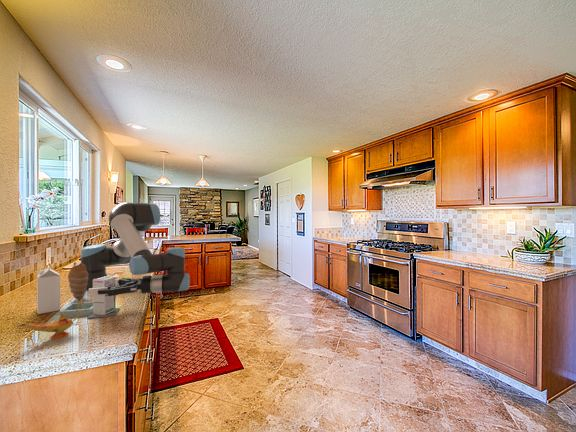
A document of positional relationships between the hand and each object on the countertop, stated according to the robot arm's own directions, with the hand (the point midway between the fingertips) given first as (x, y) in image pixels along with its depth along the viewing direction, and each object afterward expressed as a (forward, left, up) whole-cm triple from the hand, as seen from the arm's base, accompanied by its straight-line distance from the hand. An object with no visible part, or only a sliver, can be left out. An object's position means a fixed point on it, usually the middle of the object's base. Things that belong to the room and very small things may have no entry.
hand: (95, 287), depth 113 cm
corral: (-5, -7, -11) cm, 14 cm away
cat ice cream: (-25, -15, -11) cm, 31 cm away
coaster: (0, +3, -11) cm, 12 cm away
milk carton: (-11, -21, -11) cm, 26 cm away
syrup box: (0, +3, -11) cm, 11 cm away
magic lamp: (+20, -6, -11) cm, 24 cm away
